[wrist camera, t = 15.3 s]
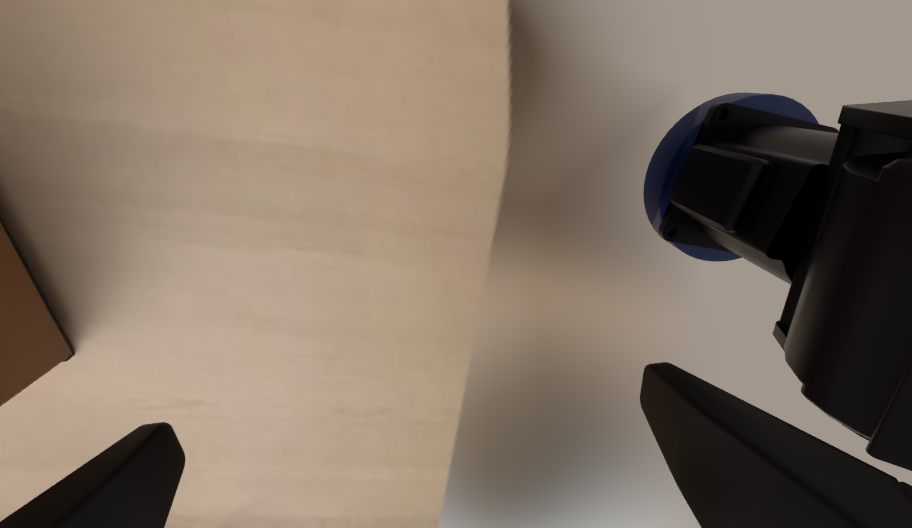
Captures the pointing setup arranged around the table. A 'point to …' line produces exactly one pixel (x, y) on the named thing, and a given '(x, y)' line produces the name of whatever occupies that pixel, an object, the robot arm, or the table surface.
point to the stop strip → (37, 288)
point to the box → (24, 327)
